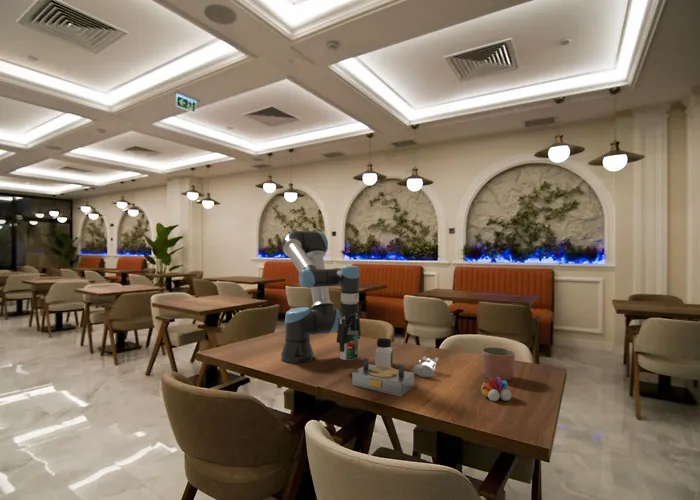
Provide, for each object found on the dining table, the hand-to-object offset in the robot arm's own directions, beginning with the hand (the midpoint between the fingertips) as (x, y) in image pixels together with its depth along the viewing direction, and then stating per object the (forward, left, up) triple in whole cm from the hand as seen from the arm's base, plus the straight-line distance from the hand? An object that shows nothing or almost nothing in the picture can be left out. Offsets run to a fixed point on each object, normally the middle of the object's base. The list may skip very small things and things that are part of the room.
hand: (348, 356), depth 157 cm
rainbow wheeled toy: (+58, +5, -7) cm, 59 cm away
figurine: (+29, +16, -7) cm, 33 cm away
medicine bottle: (+9, +16, -7) cm, 19 cm away
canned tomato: (0, 0, -1) cm, 1 cm away
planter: (+55, +27, -7) cm, 61 cm away
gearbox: (+20, -6, -7) cm, 22 cm away
